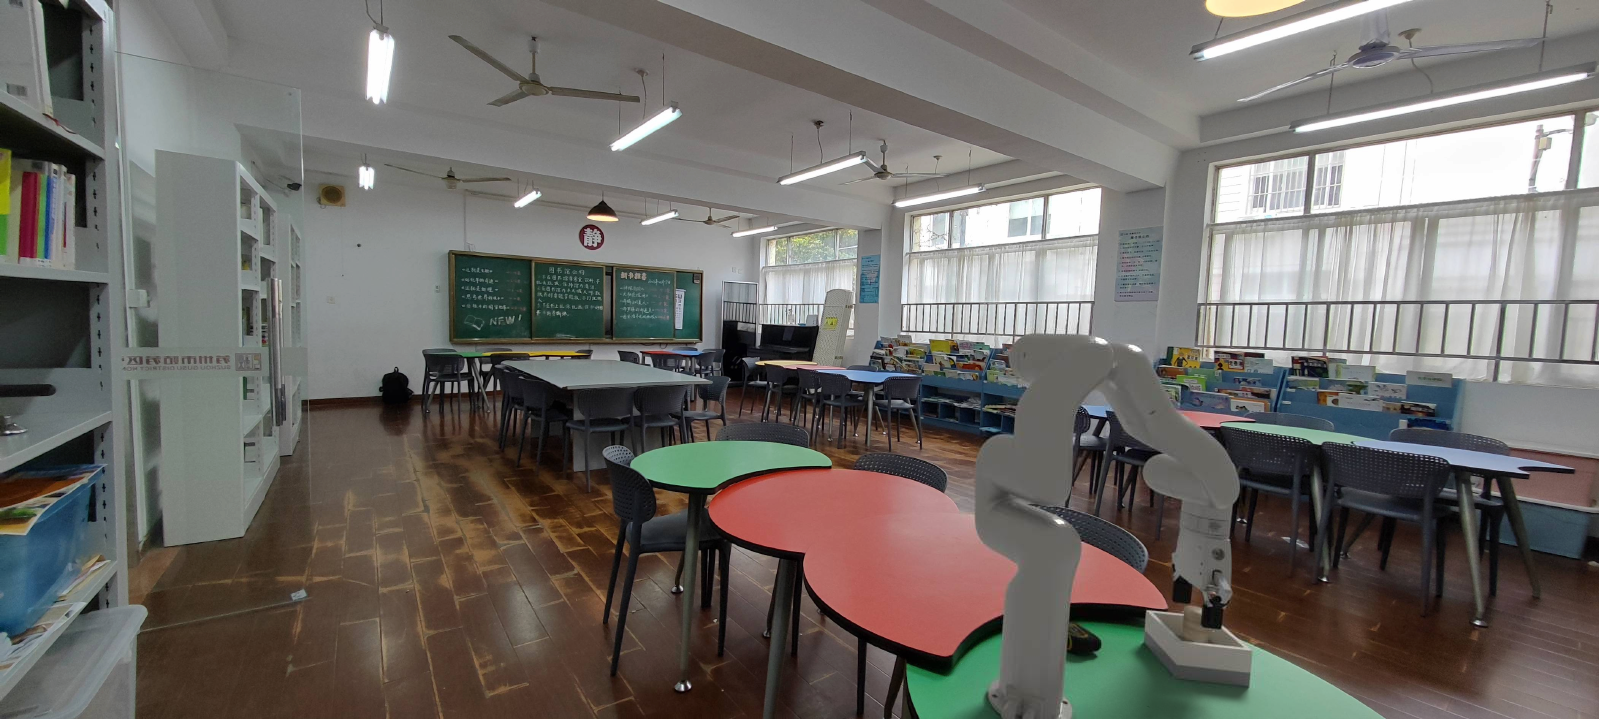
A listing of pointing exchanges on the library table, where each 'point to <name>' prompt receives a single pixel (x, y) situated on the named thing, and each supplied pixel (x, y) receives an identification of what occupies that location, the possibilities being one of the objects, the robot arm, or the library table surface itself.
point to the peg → (1194, 626)
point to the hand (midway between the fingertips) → (1195, 614)
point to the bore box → (1197, 651)
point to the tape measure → (1082, 640)
